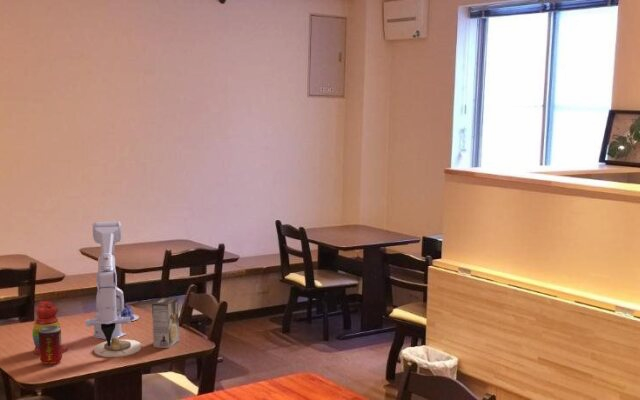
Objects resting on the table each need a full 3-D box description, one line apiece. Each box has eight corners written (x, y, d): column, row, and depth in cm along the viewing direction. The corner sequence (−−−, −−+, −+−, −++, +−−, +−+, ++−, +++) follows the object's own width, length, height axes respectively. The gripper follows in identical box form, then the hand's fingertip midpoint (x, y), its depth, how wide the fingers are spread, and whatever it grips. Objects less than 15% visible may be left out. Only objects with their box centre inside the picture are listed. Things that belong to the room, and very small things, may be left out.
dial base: (84, 353, 266) (84, 350, 266) (113, 340, 281) (113, 337, 281) (122, 359, 260) (122, 355, 260) (150, 345, 275) (150, 342, 275)
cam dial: (105, 343, 273) (105, 329, 272) (131, 341, 275) (131, 328, 274) (102, 354, 261) (101, 340, 260) (129, 353, 262) (128, 338, 261)
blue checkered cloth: (125, 314, 317) (124, 301, 317) (145, 318, 311) (145, 306, 310) (102, 320, 308) (101, 308, 307) (122, 325, 301) (121, 312, 300)
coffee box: (163, 339, 282) (161, 297, 280) (179, 340, 281) (178, 297, 279) (152, 347, 273) (151, 303, 271) (169, 348, 272) (168, 304, 270)
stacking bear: (69, 351, 269) (67, 301, 267) (41, 357, 262) (39, 307, 260) (55, 344, 277) (53, 296, 275) (28, 350, 270) (25, 301, 268)
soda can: (60, 358, 262) (58, 323, 260) (64, 364, 255) (62, 329, 254) (38, 361, 258) (36, 326, 257) (41, 368, 252) (39, 332, 250)
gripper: (84, 310, 255) (86, 350, 256) (129, 308, 258) (130, 347, 259) (86, 305, 261) (87, 343, 263) (129, 302, 265) (131, 340, 266)
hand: (109, 345), depth 262 cm, fingers closed
